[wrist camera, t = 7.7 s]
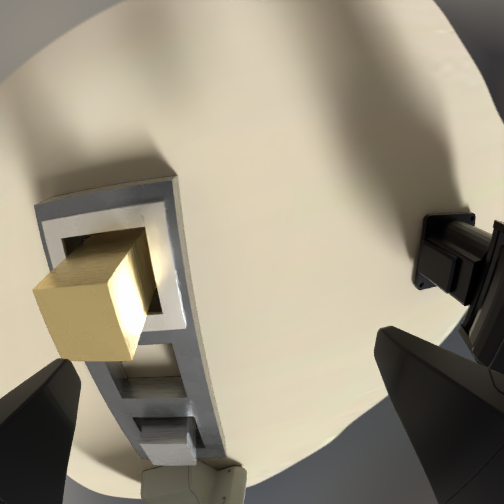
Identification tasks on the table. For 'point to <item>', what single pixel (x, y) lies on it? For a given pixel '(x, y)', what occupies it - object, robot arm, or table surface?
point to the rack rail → (160, 310)
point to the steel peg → (169, 440)
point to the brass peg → (99, 297)
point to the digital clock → (193, 485)
